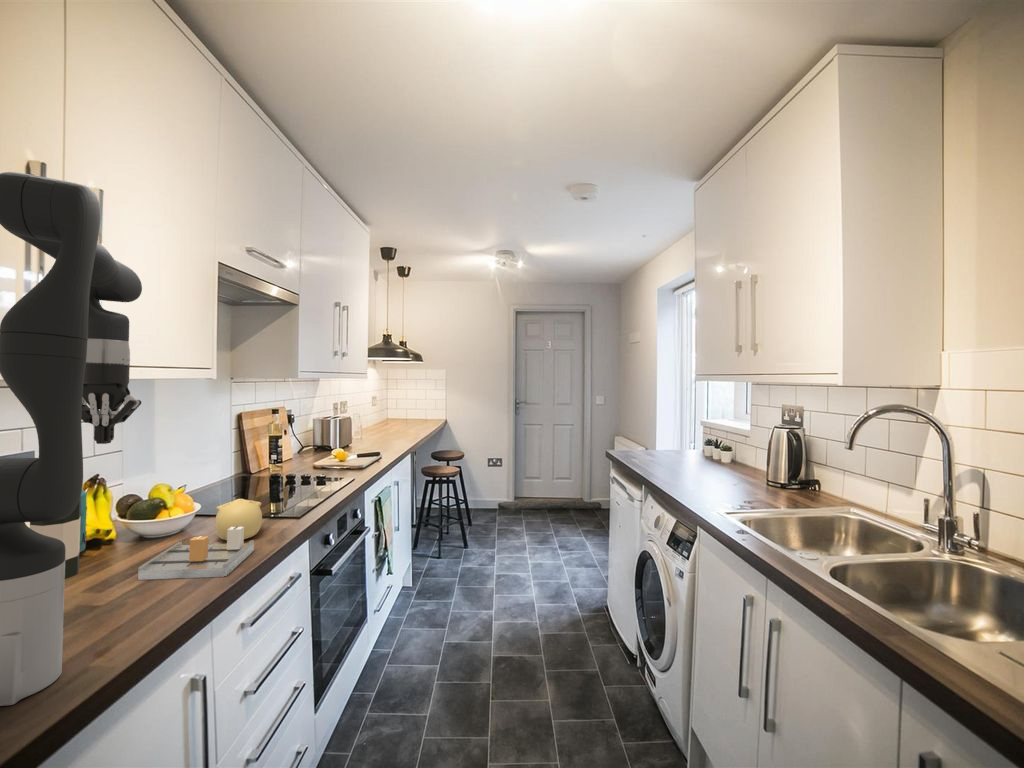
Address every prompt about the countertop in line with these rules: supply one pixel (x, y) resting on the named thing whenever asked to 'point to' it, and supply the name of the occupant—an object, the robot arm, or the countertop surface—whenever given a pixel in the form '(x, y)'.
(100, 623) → the countertop surface
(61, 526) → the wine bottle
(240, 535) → the fader
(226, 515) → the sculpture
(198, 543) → the block
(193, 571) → the grey slider board
